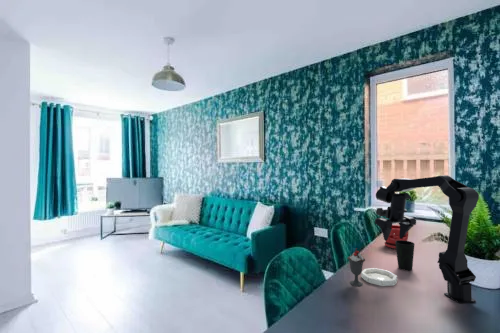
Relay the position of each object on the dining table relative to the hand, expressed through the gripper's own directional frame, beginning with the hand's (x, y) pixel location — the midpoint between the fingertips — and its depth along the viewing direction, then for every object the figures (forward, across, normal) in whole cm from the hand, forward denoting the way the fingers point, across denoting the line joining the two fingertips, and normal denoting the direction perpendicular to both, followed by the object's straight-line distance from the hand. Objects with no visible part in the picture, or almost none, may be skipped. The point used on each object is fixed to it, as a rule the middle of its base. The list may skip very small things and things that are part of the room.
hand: (393, 239), depth 119 cm
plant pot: (+18, -31, -23) cm, 43 cm away
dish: (+13, +13, +7) cm, 20 cm away
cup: (+14, -7, +3) cm, 16 cm away
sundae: (+13, +25, +7) cm, 29 cm away
